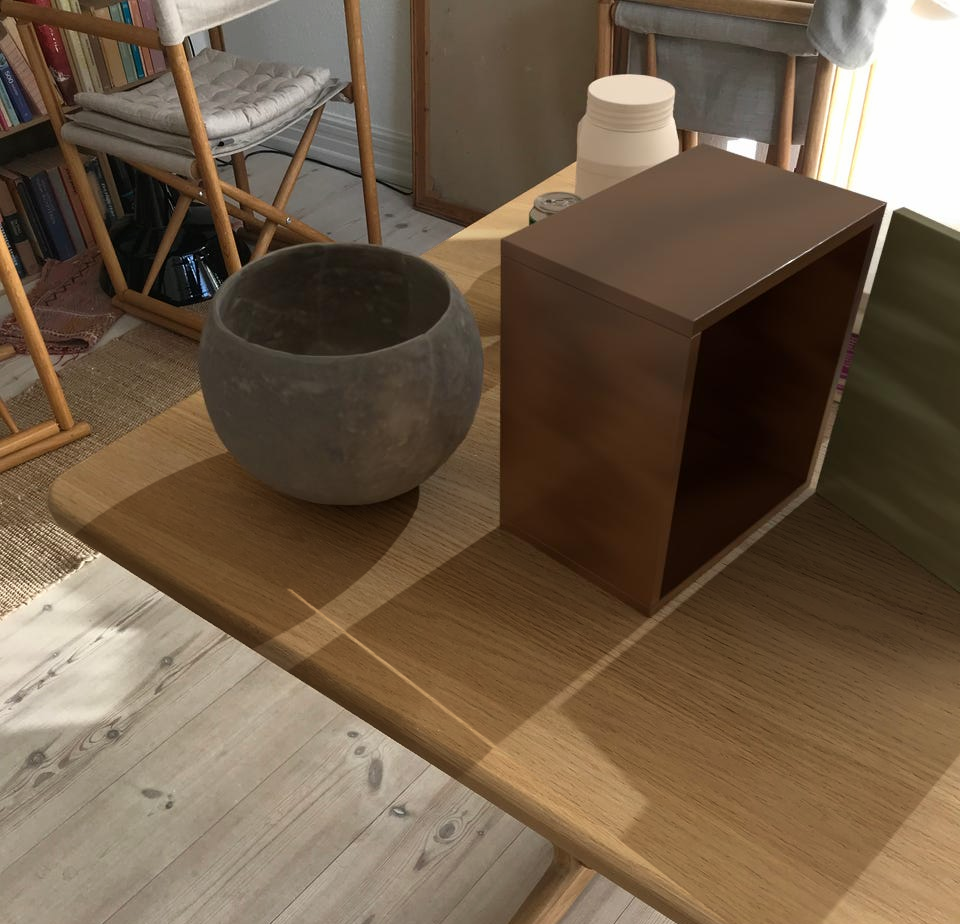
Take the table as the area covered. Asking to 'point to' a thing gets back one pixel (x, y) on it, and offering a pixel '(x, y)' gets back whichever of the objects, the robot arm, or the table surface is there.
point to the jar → (624, 131)
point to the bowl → (340, 370)
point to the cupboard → (673, 364)
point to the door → (905, 401)
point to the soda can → (551, 204)
